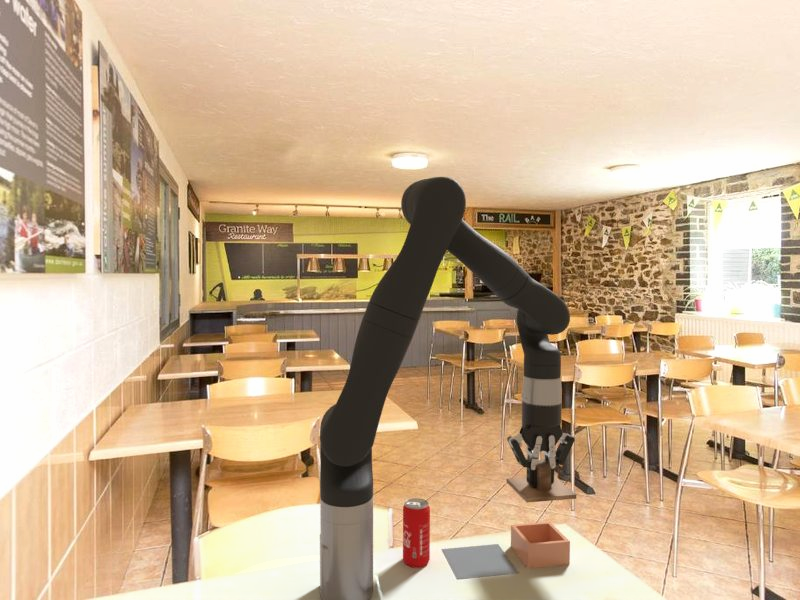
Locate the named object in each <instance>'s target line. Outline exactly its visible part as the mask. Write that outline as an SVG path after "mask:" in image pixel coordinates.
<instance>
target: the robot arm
mask: <svg viewBox="0 0 800 600" xmlns="http://www.w3.org/2000/svg"><path fill="white" fill-rule="evenodd" d="M466 204H467V201H466V194H465V191H464V189H463V186H462V185H461V184H460V183H459V182H458V181H457V180H456V179H453V178H452V177H448V176H434V177H429V178H423V179H420V180H417V181H415V182H413V183H411V184H410V185H408V187H407V188H406V189H405V190H404V191H403V194H402V196H401V201H400V205H401V206H400V207H401V212H402V215H403V217H404V219H405V221H406V222H407V223H408V224H409V229H408V231H407V235H406V238H405V241H404V243H403V245H402V247H401V250H400V252H398V254H397V256H396V258H395V260H394V261H393V262H392V264H391V265H390V266H389V268H388V269H387V271H386V272H385V273H384V275H383V276H382V277H381V279H380V280H379V282H378V283H377V285H376V287H375V289H374V290H373V292H372V295H371V296H370V298H369V300H368V304H367V306H366V309H365V311H364V314H363V317H362V318H361V322H360V326H359V328H358V331H357V335H356V338H355V342H354V343H355V344H354V347H353V351H352V356H351V361H350V367H349V371H348V375H347V377H346V380H345V383H344V386H343V388H342V390H341V392H340V395H339V397H338V399H337V400H336V403H335V404H333V405H332V406H330V407H329V408H328V409H327V410H326V411H325V413H324V414H323V416H322V418H321V420H320V421H321V422H320V427H319V428H320V429H319V430H320V431H319V444H320V445H319V446H320V448H319V449H320V452H319V453H320V455H319V456H320V464H319V465H320V467H319V469H320V471H319V478H320V479H319V496H320V497H319V500H320V501H319V503H320V504H319V505H320V506H319V507H320V508H319V509H320V518H319V519H320V522H319V523H320V534H319V589H320V600H369V599H370V598H371V597H372V595H373V593H374V476H373V475H374V473H373V446H374V443H375V439H376V436H377V433H378V428H379V427H378V426H379V424H380V421H381V420H380V419H381V416H382V414H383V410H384V406H385V402H386V399H387V396H388V394H389V391H390V389H391V387H392V384H393V382H394V381H395V378H396V376H397V374H398V372H399V370H400V367H401V366H402V364H403V361H404V358H405V356H406V354H407V352H408V349H409V347H410V344H412V343H411V342H412V339H413V337H414V336H415V332H416V331H417V328H418V325H419V321H420V319H421V317H422V314H423V310H424V307H425V305H426V303H427V299H428V297H429V294H430V292H431V290H432V286H433V284H434V281H435V278H436V276H437V273H438V271H439V267H440V265H441V263H442V260H443V259H444V257H445V254H446V252H448V253H450V254H451V255H453V256H454V257H455V258H456V260H459V262H460V263H461V264H463V265H464V266H465V267H466V269H468V270H469V271H471V273H473V275H475V276H476V277H477V278H478V279H479V280H480V281H481V282H482V283H483V285H485V286H486V288H487V289H489V290H490V291H491V292H492V293H493V295H495V297H497V298H498V299H499V300H500V301H501V302H503V304H505V305H507V306H509V307H511V308H514V309H518V310H517V315H516V324H517V325H516V326H517V330H518V337H519V340H520V344H521V348H522V352H523V376H522V377H523V379H522V385H521V396H520V397H521V427H520V429H519V433H518V434H516V435H514V436H511V435H510V436H508V437H507V443H508V444H509V446H510V447H509V448H510V449H511V450H512V453H513V455H514V457H515V459H516V461H517V463H518V464H519V465H520V466H522V467H523V468H526V477H527V483H528V484H529V485H530V486H531V487H532V488H536V487H537V470H536V468H537V461H538V460H539V459H540V454H541V452H542V453H543V459H544V460H543V461H544V462H545V463H547V464H548V465H549V466H551V486H552V484H553V483H554V477H555V468H556V467H558V466H559V465H560V466H563V465H565V462H566V460H567V457H568V456H569V454H570V453H571V452H570V451H571V449H572V447H573V445H574V443H575V440H576V439H575V437H574V436H572V435H570V434H569V433H565V432H564V431H563V429H562V426H561V424H562V403H563V402H562V401H563V399H562V395H563V388H562V387H563V386H562V378H561V377H562V375H561V374H562V356H561V350H560V349H559V348H557V346H555V345H553V344H552V343H551V342H550V339H549V335H551V336H552V335H553V336H555V335H558V334H561V333H564V332H565V331H566V330H567V328H568V326H569V324H570V321H571V315H570V314H571V313H570V309H569V307H568V305H567V304H566V302H565V301H564V300H563V299H562V298H561V297H560V296H559V295H557V294H556V293H554V292H553V291H552V290H551V289H549V288H547V287H546V286H545V285H544V284H542V283H541V282H539V281H537V280H535V279H534V278H532V277H531V276H530V274H529V273H528V272H527V271H526V270H525V269H524V268H523V267H522V266H521V265H520V264H519V263H518V262H517V261H516V260H515V259H514V258H513V257H512V256H511V255H510V254H508V253H507V252H506V251H505V250H503V248H501V247H499V246H497V245H496V244H494V243H493V242H492V241H490V240H489V239H487V238H486V237H484V236H483V235H481V234H480V233H479V232H477V231H476V230H475V229H474V228H473V227H472V226H471V225H469V224H468V223H467V222H466V221H465V220H464V219H463V218H464V215H465V212H466V207H467V205H466ZM523 442H524V444H526V450H525V453H526V457H525V454H524V453H523V450H522V448H521V447H523ZM558 443H559V444H558ZM557 444H558V446H557V448H556V445H557Z"/></svg>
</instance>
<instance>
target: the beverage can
mask: <svg viewBox="0 0 800 600" xmlns="http://www.w3.org/2000/svg"><path fill="white" fill-rule="evenodd" d="M403 503H404V504H403V507H402V560H403V562H404V564H405V565H406V566H408V567H410V568H417V569H419V568H423V567H426V566H427V565H428V564H429V561H430V560H431V558H430V557H431V556H430V555H431V552H430V551H431V550H430V549H431V548H430V547H431V538H430V537H431V536H430V535H431V533H430V532H431V508H430V507H431V506H430V503H429V501H427V500H426V499H423V498H418V497H417V498H415V497H414V498H409V499H407V500H405V501H404V502H403Z"/></svg>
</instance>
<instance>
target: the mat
mask: <svg viewBox="0 0 800 600" xmlns="http://www.w3.org/2000/svg"><path fill="white" fill-rule="evenodd" d="M441 552H442V553H443V554H444V557H445V558H446V560H447V561H446V562H448V564H449V567H450V568H451V570H452V572H453V574H454V576H455V578H456V580H466V579H473V578H483V577H485V578H486V577H495V576H503V575H506V576H507V575H516V574H520V571H519V570H518V569H517V568H516V566H515V565H514V564H513V562H512V561H511V559H510V558H509V557H508V556H507V554H506V552H505V551H504V549H502V547H501V546H500V545H499V544H498V543H494V544H484V545H483V544H482V545H474V546H473V545H472V546H464V547H463V546H460V547H451V548H450V547H449V548H441Z"/></svg>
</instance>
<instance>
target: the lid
mask: <svg viewBox="0 0 800 600" xmlns="http://www.w3.org/2000/svg"><path fill="white" fill-rule="evenodd" d="M536 470H537V487H536V488H532V487H531V486H530V485H529V484H528V483H527V476H525V477H524V476H523V477H521V476H520V477H512V478H511V477H510V478H506V483H507V484H508V485H509V486H510V487H511V488H512V489H513V491H514V492H515V493H517V494H518V495H519V496H520V498H522V500H523V501H524V502H525V503H539V502H550V501H563V500H564V501H565V500H577V494H576V493H575V491H573V490H571V489H570V488H569V487H568V486H566V485H565V484H564V483H563V482H562V481H560V480H559V479H558V478H556V477H555V476H554V483H553V484H552V486H551V466H549V465H548V464H547V463H545V461H544V460H542V459H538V461H537V468H536Z"/></svg>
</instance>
